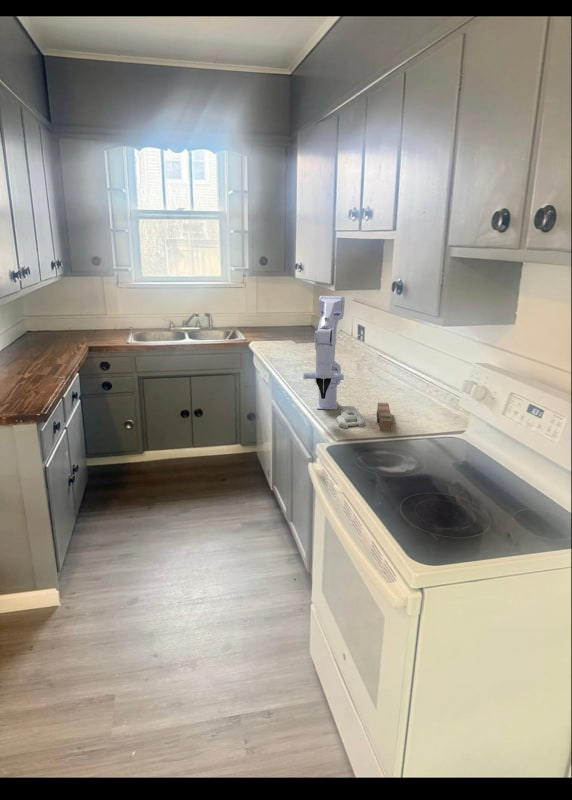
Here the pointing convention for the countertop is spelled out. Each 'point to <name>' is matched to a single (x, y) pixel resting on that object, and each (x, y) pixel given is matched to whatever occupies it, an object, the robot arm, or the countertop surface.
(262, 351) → the countertop surface
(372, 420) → the countertop surface
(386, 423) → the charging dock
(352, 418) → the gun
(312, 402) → the countertop surface
